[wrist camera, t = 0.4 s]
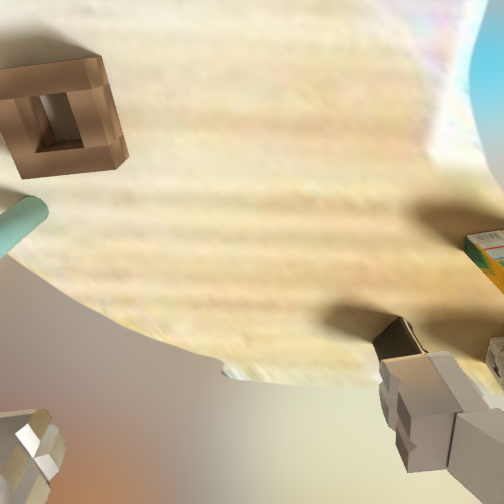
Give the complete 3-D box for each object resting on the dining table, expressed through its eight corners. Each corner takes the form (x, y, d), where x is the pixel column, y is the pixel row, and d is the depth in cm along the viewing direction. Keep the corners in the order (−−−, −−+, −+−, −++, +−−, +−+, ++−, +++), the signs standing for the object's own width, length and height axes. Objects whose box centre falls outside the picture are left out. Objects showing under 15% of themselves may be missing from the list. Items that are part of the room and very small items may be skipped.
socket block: (4, 68, 41) (-26, 72, 37) (101, 56, 40) (82, 59, 36) (43, 166, 46) (21, 179, 42) (129, 156, 46) (116, 169, 41)
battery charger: (387, 351, 62) (411, 411, 52) (369, 342, 61) (391, 401, 51) (417, 324, 59) (450, 383, 49) (400, 314, 58) (429, 372, 48)
